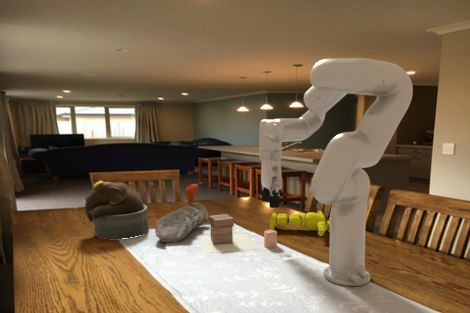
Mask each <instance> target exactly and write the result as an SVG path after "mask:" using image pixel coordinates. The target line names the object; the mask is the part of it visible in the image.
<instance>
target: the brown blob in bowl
mask: <svg viewBox="0 0 470 313" xmlns="http://www.w3.org/2000/svg"><path fill="white" fill-rule="evenodd" d="M84 210H85V214H86V216H87V219H88V221H89V223H94V234H95V237H96V236H98V237H100V238H106V239H122V238H130V237H135V236H139V235H143V234H144V235H146V234H148V233H147V232H149V231H150V229H149V228H150V227H149V216H148V206H147V205H146V204H145V203H144V201H143V199H142V197H141V195H140V194H139V193H138V192H137V191H136V190H135V189H134V188H133V187H132V186H130V185H128V184H126V183H124V182H111V181H103V180H98V181H97V182H95V183H94V185H92V189H91V191H89V194H88V196H87V197H86V202H85V204H84ZM145 233H146V234H145ZM144 235H143V236H144ZM98 237H97V238H98ZM139 237H140V236H139ZM100 238H99V239H100Z"/></svg>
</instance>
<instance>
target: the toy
mask: <svg viewBox="0 0 470 313" xmlns="http://www.w3.org/2000/svg"><path fill="white" fill-rule="evenodd" d="M276 225H281V226H286V225H287V226H289V225H290V226H291V227H292V226H294V227H297V226H301V227H305V229H306V230H309V231H318V232H317V234H318V236H319V237H322V236H324V234H325V232H327V233H328V232H329V234H330V217H329V218H328V220H327V221H326V216H325V214H324V213H323V211H321V210H317V211H316V212H315V211H314V212H310V211H309V212H307V213H305V212H301V213H292V214H290V215H288V214H287V213H278V214H277V212H272V214H271V217H270V222H269V230H275V229H276V228H275V227H276Z"/></svg>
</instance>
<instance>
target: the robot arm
mask: <svg viewBox="0 0 470 313" xmlns="http://www.w3.org/2000/svg"><path fill="white" fill-rule="evenodd" d="M309 73H310V74H309V80H310V81H309V82H310V84H311V85H312V86H311V87H310V88H308V89H307V91H305V93H304V94H303V102H304V104H305V106H306V108H307V109H308V110H307V111H306V112H305V113H304V114H302V115H301V116H300V117H299V118H275V119H274V118H272V119H271V118H270V119H267V118H266V119H265V118H264V119H262V120H261V121H260V122H259V160H260V161H261V164H260V165H261V167H260V168H261V170H260V171H261V172H260V181H261V182H260V183H261V184H260V185H261V201H262V203H264V202H265V203H266V202H267V203H268V202H269V208H270V209H275V208H276V209H277V208H278V209H279V208H280V192H281V191H280V190H281V189H282V188H283V182H282V179H283V178H282V176H283V175H282V164H281V163H282V162H281V160H282V146H283V145H282V143H286V142H287V143H288V142H301V141H304V140H306V139H309V137H311V136H312V135H313V134H314V133H316V132H317V131H318V130H319V129H320V128H321V126H323V123H324V121H325V117H326V113H327V112H328V111H329V110H331V109H332V108H333V107H334V106H335V105H337V103H338V102H340V101H341V100H342V99H344V97H345V96H346V95H348V94H351V95H352V94H353V95H361V96H363V95H365V96H376V99H375V100H374V102H373V103H371V105H370V106H369V108H368V109H366V111H365V113H364V115H363V117H362V119H361V120H360V123H359V124H358V126H357V128H356V129H355V130H354V131H345V132H342V133H339V134H336V135H335V136H334V137H332V138H331V140H330V141H329V143H328V144H327V145H326V148H325V150H324V151H323V154H322V156H321V158H320V160H319V163H318V164H317V167H316V169H315V171H314V174H313V176H312V180H311V193H312V196H313V197H314V199H315V200H316V201H317V202H319V203H320V204H323V205H331V208H330V214H329V216H330V217H329V218H330V220H329V221H330V233H329V257H328V258H329V262H328V264H329V266H327V267H325V268H324V270H323V276H324V277H325V279H326V280H328V281H329V282H331V283H334V284H335V285H336V284H337V285H340V286H346V287H347V286H348V287H351V286H352V287H357V286H358V287H360V286H363V285H367V284H368V283H369V282H370V281H371V274H370V273H369V272H368V271H366V265H365V263H366V262H365V261H366V259H365V257H366V223H367V207H368V206H367V205H368V201H369V196H370V189H371V180H370V177H369V175H368V173H367V172H366V171H365V170H364V169H365V168H370V167H373V166H375V165H376V164H378V163H379V161H381V159H382V157H383V154H384V153H385V151H386V149H387V147H388V145H389V143H390V142H391V140H392V138H393V136H394V135H395V132H396V130H397V128H398V127H399V125H400V123H401V121H402V120H403V118H404V117H405V115H406V113H407V111H408V109H409V107H410V104H411V102H412V98H413V94H414V93H413V90H414V88H413V82H412V80H411V77H410V76H409V73H408V72H407V71H406V70H405V68H402V66H400V65H399V64H396V63H393V62H389V61H385V60H378V59H373V58H365V57H351V58H350V57H345V58H344V57H342V58H336V57H335V58H331V57H330V58H323V59H320V60H319V61H317V62H316V63H315V64H314V66H313V67H312V69H311V71H310V72H309ZM363 168H364V169H363Z"/></svg>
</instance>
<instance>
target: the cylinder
mask: <svg viewBox="0 0 470 313" xmlns="http://www.w3.org/2000/svg"><path fill="white" fill-rule="evenodd" d="M263 232H264V233H263V236H264V237H263V238H264V240H263V241H264V242H263V244H264V247H265V249H275V248H277V247H278V231H277V230H275V229H274V230H270V229H266V230H264V231H263Z"/></svg>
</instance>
